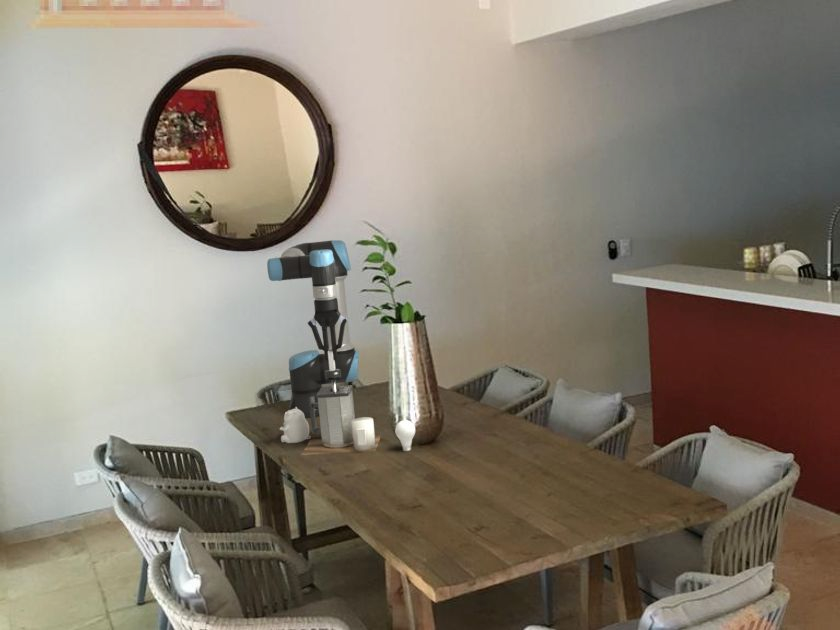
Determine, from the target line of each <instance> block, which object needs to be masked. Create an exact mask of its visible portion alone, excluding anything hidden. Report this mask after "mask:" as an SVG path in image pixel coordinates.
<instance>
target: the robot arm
mask: <svg viewBox="0 0 840 630" xmlns="http://www.w3.org/2000/svg"><path fill="white" fill-rule="evenodd" d="M349 257H350V256H349V253H348V249H347V246H346V243H345V241H344V240H333V239H332V240H323V241H313V242H303V243H299V244H295V245H293V246H291V247H289V248H287V249H285V250H284V251H283V252H282V253H281V256H280V257H273V258H272V257H271V258H268V260H267V263H266V265H267V267H266V268H267V275H268V278H269V281H271V282H281V281H291V280H300V279H311V282H312V284H311V285H312V293H313V294H312V296H313V299H314V300H313V303H314V315H313V318H312V319H310V320H309V321H307V325H308V326H309V327H310V329H311V331H312V334H313V337H314V340H315V342H316V346H317V348H318V350H317V349H314V350H313V349H311V350H306V351H302V352H301V351H300V352H298V353H296V354H293V355H292V356H290V357H289V358H288V371H289V377H290V379H289V380H290V387H291V388H290V389H291V397H290V402H289V405H288V406H289V408H288V410H292V409H296V408H295V407H297V409H299V410H301V411H302V412H303V413H304V415H305V418H311V415H310V406H309V404H310V403H318V398H316V395H317V393H318V392H319V390H320V389H321V387H323V385H329V384H331V385H332V380H327V379H326V377H325V371H326V370H330V371H334V370H335V369H340V371H341V378H339V379H335V380H336V384H338V383H339V384H341V383H345V384H346V383H351V382H355V381H357V379H358V376H359V373H358V372H359V354H360V353H359V350H357V349H355V345H354V344H352V343H351V340H350V339H351V338H350V331H349V330H350V329H349V317H348V309H347V299H346V297H347V296H346V288H345V287H346V286H345V279H346V278H347V277H348V275H349V274H348V272H349V271H351V270H352V269H351V268H352V267H351V263H350V258H349ZM317 323H318V325H319V326H320V327H321V333H322V334H321V335H322V338H321V335H320V333H319V330H318V327H317ZM320 350H321V351H323V353H320V352H319V351H320ZM314 409H315V417H317V416H319V407H316V408H314Z"/></svg>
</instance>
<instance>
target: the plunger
mask: <svg viewBox="0 0 840 630" xmlns="http://www.w3.org/2000/svg"><path fill="white" fill-rule="evenodd" d="M325 377H326V379H327V380H332V383H331V385H332V386H331V387H332V388H333V391H337V390H336V386H337V383H336V380H335V379H339V378H341V371H340V369H335V370H334V371H330V370H326V371H325Z"/></svg>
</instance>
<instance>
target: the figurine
mask: <svg viewBox="0 0 840 630" xmlns="http://www.w3.org/2000/svg"><path fill="white" fill-rule="evenodd" d="M295 408H296V409H292V410H289V409H288V410H287V411H285V413H284V416H283V421H284V422H283V424H282V425H283V426H280V428H278V429H279V431H283V435H281V437H280V441H281V443H286V444H296V443H301V442H304V441H306V440H311V435H310V425H309V421H308V420H307V418H306V417H305V415H304V413H303V412H302V411H301V410H299V409H297V407H295Z"/></svg>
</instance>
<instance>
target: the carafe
mask: <svg viewBox="0 0 840 630" xmlns="http://www.w3.org/2000/svg"><path fill="white" fill-rule="evenodd" d="M353 387H354V386H353V385H351V384H349V385H336V390H337V391H333V388H332V386H322V387H321V389H320V390H319V392H318V393H317V395H316V398H318V403H310V404H309V406H310V415H311V417H310V423H311V432H312V434H313V435H315V434H317V435H318V434H321V439H322V443H323V446H324V447H326V448H344V447H349V446H352V445H354V444H353V433H352V423H351V421H352V420H353V419H356V417H355V415H356V414H355V408H354V407H355V404H354V396H353V395H354V394H353V389H354V388H353ZM316 407H319V415H318V416H319V424H320V426H319V427H320V428H317V420H316V419H317V418H316V416H315V409H314V408H316Z"/></svg>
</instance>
